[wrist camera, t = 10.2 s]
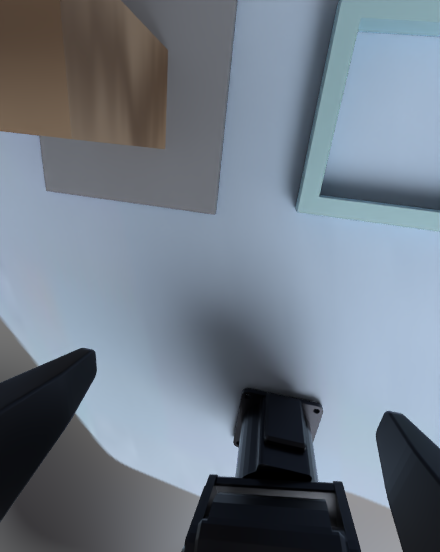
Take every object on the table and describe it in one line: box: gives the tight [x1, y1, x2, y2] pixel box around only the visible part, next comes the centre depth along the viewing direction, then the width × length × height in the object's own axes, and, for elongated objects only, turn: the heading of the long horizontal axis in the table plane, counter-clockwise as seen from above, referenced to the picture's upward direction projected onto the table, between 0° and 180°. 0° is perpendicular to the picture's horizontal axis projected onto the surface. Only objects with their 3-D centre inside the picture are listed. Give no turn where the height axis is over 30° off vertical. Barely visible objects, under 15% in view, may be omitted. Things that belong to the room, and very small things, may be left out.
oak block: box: [0, 0, 168, 149], centre depth 13 cm, size 5×5×9 cm
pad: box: [40, 0, 237, 215], centre depth 17 cm, size 12×12×1 cm
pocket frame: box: [295, 0, 440, 232], centre depth 15 cm, size 10×10×2 cm
